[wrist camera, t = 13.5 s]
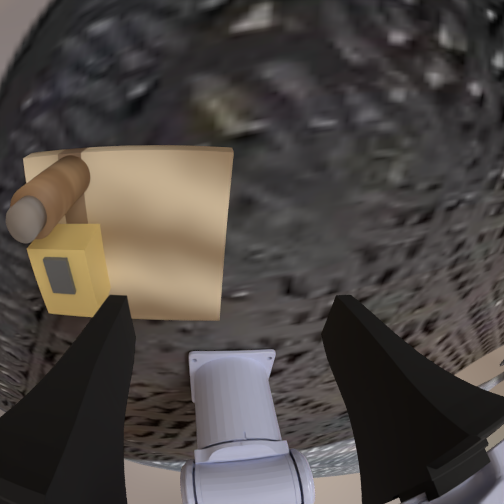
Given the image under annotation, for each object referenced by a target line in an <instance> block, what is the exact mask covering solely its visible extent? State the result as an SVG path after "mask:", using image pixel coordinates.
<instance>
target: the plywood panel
mask: <svg viewBox="0 0 504 504" xmlns="http://www.w3.org/2000/svg"><path fill="white" fill-rule="evenodd" d="M233 154H234V152H233V149H232V148H228V147H209V146H176V145H140V146H108V147H90V148H76V149H65V150H54V151H45V152H37V153H32V154H30V155H28V156H26V157H25V158H23V161H24V170H25V177H26V183H28V182H29V181H30V180H32V179H33V178H34V177H36V176H37V175H38V174H40V173H41V172H42V171H44V170H45V169H46V168H48V167H49V166H51V165H52V164H54V163H55V162H56V161H58V160H59V159H61V158H62V157H64V156H68V155H74V156H77V157H79V158H81V159H82V160H83V161H84V162H85V163H86V164H87V166H88V168H89V171H90V184H89V186H88V188H87V190H86V191H85V192H84V193H83V194H82V196H81V197H80V198H79V199H78V200H77V201H76V202H75V203H74V205H73V206H72V207H71V208H70V209H69V210H68V212H67V213H66V214H65V215H64V216H63V218H62V219H61V220H60V221H59V222H58V224H100V228H101V235H102V242H103V248H104V254H105V260H106V266H107V271H108V276H109V281H110V286H111V289H110V292H109V295H127V298H128V303H129V308H130V313H131V318H132V319H157V320H219V319H220V304H221V290H222V276H223V263H224V251H225V239H226V227H227V216H228V205H229V194H230V184H231V174H232V164H233ZM109 295H108V296H109Z"/></svg>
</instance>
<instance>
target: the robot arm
mask: <svg viewBox="0 0 504 504" xmlns="http://www.w3.org/2000/svg"><path fill="white" fill-rule="evenodd" d="M321 335H322V340H323V344H324V348H325V352H326V356H327V359H328V362H329V364H330V367H331V370H332V372H333V375H334V377H335V380H336V382H337V385H338V387H339V390H340V392H341V395H342V398H343V400H344V403H345V405H346V408H347V411H348V414H349V418H350V422H351V426H352V430H353V434H354V439H355V444H356V449H357V455H358V461H359V469H360V477H361V491H362V504H385V503H387V502H390V501H392V500H394V499H396V498H400V501H401V503H400V504H504V439H503V440H502V441H500V442H499V443H498V444H496V445H495V446H494V447H492V448H491V449H490V450H489V451H487V452H486V450H485V447H486V446H488V442H487V439H486V438H487V437H489V436H490V435H491V434H492V433H494V432H495V431H496V430H497V429H499V428H500V427H501V426H502V425H503V424H504V397H503V396H500V395H497V394H494V393H492V392H489V391H486V390H483V389H481V388H479V387H476V386H474V385H472V384H470V383H468V382H466V381H464V380H462V379H460V378H458V377H456V376H454V375H453V374H451V373H449V372H447V371H446V370H444V369H442V368H441V367H439V366H438V365H436V364H435V363H433V362H432V361H430V360H429V359H427V358H426V357H424V356H423V355H422V354H420V353H419V352H418V351H416V350H415V349H414V348H413V347H411V346H410V345H409V344H407V343H406V342H405V341H404V340H403V339H401V338H400V337H399V336H398V335H397V334H395V333H394V332H393V331H392V330H391V329H390V328H388V327H387V326H386V325H385V324H384V323H383V322H382V321H381V320H379V319H378V318H377V317H376V316H375V315H374V314H373V313H372V312H370V311H369V310H368V309H367V308H366V307H365V306H364V305H362V304H361V303H360V302H359V301H358V300H357V299H355V298H354V297H353V296H352V295H336V297H335V300H334V303H333V305H332V308H331V310H330V313H329V316H328V318H327V321H326V323H325V326H324V328H323V331H322V333H321ZM135 340H136V336H135V332H134V327H133V323H132V318H131V313H130V308H129V303H128V298H127V295H109V296H108V297H107V298H106V300H105V301H104V302H103V304H102V305H101V307H100V308H99V309H98V311H97V312H96V313H95V315H94V316H93V317H92V319H91V320H90V322H89V323H88V324H87V326H86V327H85V328H84V329H83V331H82V332H81V333H80V335H79V336H78V337H77V339H76V340H75V341H74V343H73V344H72V345H71V346H70V347H69V349H68V350H67V351H66V352H65V354H64V355H63V356H62V357H61V359H60V360H59V361H58V362H57V363H56V364H55V366H54V367H53V368H52V369H51V370H50V371H49V372H48V373H47V374H46V376H45V377H44V378H43V379H42V380H41V381H40V382H39V383H38V384H37V385H36V386H35V387H34V388H33V389H32V390H31V391H30V392H29V393H28V394H27V395H26V396H25V397H24V398H22V399H21V400H20V401H19V402H18V403H17V404H16V405H15V406H13V407H12V408H11V409H10V410H9V411H7V412H6V413H5V414H4V415H3V416H1V417H0V504H127V498H126V487H125V475H124V420H125V412H126V405H127V399H128V393H129V387H130V381H131V376H132V370H133V364H134V353H135ZM275 355H276V353H275V350H273V349H265V350H241V351H192V352H190V353H189V370H190V383H191V395H192V402H194V403H195V411H196V428H197V443H198V450H194V455H195V459H190V460H187V462H186V463H185V464H184V465H183V467H182V469H181V476H180V486H181V496H182V502H183V504H314V502H315V487H314V481H313V476H312V473H311V469H310V466H309V464H308V461H307V459H306V457H305V456H304V455H303V454H302V453H300V452H299V451H298V450H297V449H288V444H287V441H286V440H284V441H282V439H281V435H280V430H279V426H278V422H277V417H276V413H275V408H274V404H273V400H272V395H271V391H270V386H269V382H268V379H269V375H270V372H271V369H272V365H273V362H274V359H275Z"/></svg>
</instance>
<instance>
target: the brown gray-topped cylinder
mask: <svg viewBox="0 0 504 504" xmlns="http://www.w3.org/2000/svg"><path fill="white" fill-rule="evenodd" d="M89 184H90V171H89V168H88V166H87V164H86V163H85V162H84V161H83V160H82V159H81V158H79V157H77V156H74V155H68V156H64V157H62V158H61V159H59V160H58V161H56V162H55V163H54V164H52V165H51V166H49V167H48V168H46V169H45V170H44V171H42V172H41V173H40V174H38V175H37V176H36V177H34V178H33V179H32V180H30V181H29V182H28V183H26V184H25V185H24V186H22V187H21V188H20V189H19V190H17V191H16V192H15V194H14V195H13V197H12V200H11V204H10V209H9V210H8V212H7V214H6V225H7V228H8V230H9V232H10V234H11V235H12V236H13V237H14V238H15V239H16V240H17V241H19V242H21V243H30V242H32V241H33V240H34V239H43V238H45V237H47V236H48V235H49V234H50V233H51V231H52V230H53V229H54V227H55V226H56V225H57V224H58V222H59V221H60V220H61V219H62V218H63V216H64V215H65V214H66V213H67V212H68V210H69V209H70V208H71V207H72V206H73V205H74V203H75V202H76V201H77V200H78V199H79V198H80V197H81V196H82V194H83V193H84V192H85V191H86V190H87V188H88V186H89Z"/></svg>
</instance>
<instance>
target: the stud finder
mask: <svg viewBox="0 0 504 504" xmlns="http://www.w3.org/2000/svg"><path fill="white" fill-rule="evenodd" d="M27 251H28V255H29V258H30V261H31V265H32V268H33V271H34V274H35V277H36V280H37V283H38V286H39V288H40V291H41V294H42V297H43V299H44V302H45V304H46V307H47V309H48V312H49V313H51V314H61V315H72V316H83V317H93V316H94V315H95V313H96V312H97V311H98V309H99V308H100V307H101V305H102V304H103V302H104V301H105V300H106V298H107V297H108V295H109V292H110V289H111V286H110V281H109V276H108V271H107V266H106V260H105V254H104V248H103V242H102V235H101V228H100V224H57V225H56V226H55V227H54V229H53V230H52V231H51V233H50V234H49V235H48V236H47V237H45V238H43V239H34V240H33V242H32V243H31V244H30V245H29V247H28V248H27Z"/></svg>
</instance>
